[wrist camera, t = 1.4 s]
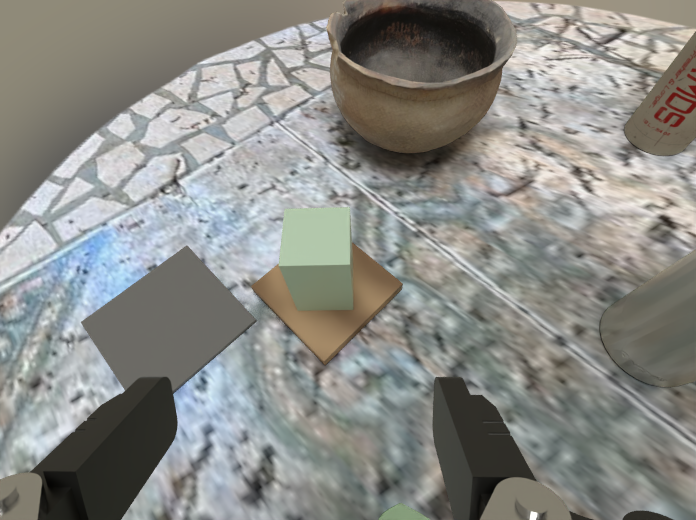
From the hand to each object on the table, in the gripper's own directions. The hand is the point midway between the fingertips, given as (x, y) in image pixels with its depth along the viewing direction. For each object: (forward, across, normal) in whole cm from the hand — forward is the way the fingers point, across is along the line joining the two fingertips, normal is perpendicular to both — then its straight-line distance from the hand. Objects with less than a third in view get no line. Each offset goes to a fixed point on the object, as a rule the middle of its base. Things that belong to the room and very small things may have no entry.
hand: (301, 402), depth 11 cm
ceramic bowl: (+49, -9, -12) cm, 51 cm away
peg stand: (+30, +2, +7) cm, 31 cm away
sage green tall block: (+29, +2, +6) cm, 30 cm away
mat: (+28, +20, +10) cm, 35 cm away
